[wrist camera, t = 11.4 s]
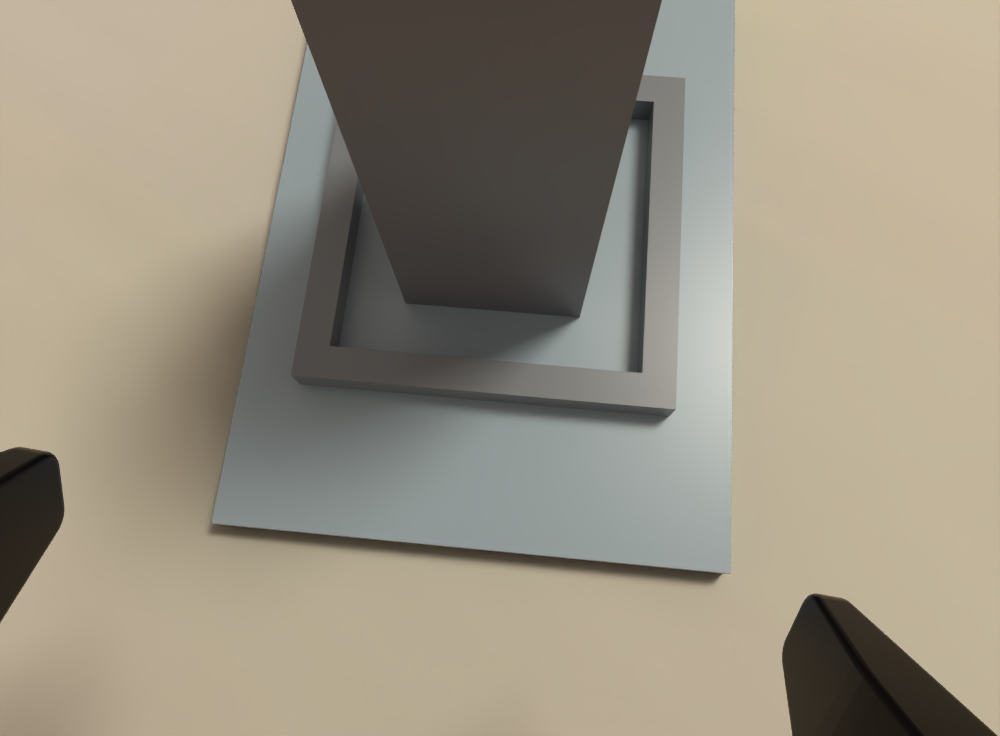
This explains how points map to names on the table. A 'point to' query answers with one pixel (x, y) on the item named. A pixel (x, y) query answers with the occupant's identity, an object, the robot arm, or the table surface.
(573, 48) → the brick
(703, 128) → the charging dock
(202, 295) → the table surface
